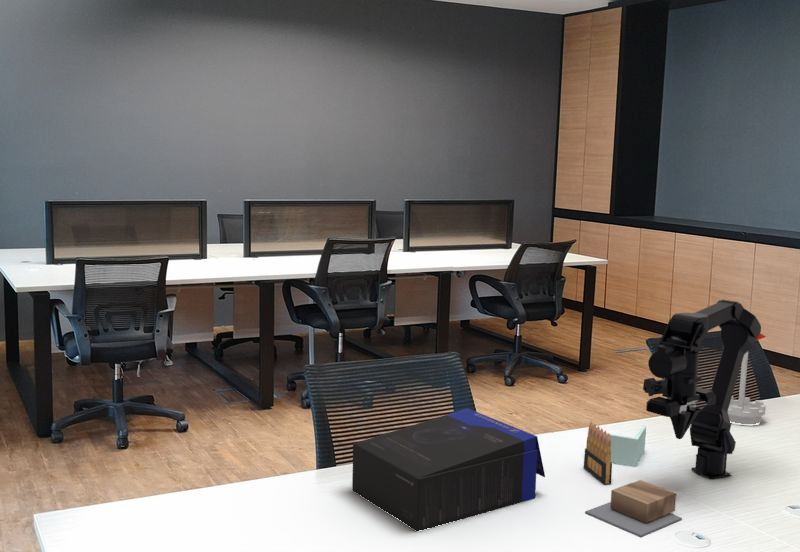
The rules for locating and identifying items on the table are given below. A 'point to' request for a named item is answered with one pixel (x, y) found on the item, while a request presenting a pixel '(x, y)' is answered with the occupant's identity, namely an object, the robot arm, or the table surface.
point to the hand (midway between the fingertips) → (679, 438)
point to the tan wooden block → (643, 501)
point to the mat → (631, 520)
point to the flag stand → (745, 401)
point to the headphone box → (447, 469)
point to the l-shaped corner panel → (628, 448)
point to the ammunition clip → (598, 454)
